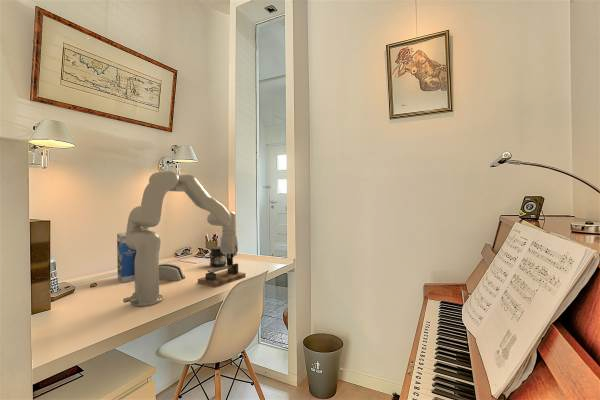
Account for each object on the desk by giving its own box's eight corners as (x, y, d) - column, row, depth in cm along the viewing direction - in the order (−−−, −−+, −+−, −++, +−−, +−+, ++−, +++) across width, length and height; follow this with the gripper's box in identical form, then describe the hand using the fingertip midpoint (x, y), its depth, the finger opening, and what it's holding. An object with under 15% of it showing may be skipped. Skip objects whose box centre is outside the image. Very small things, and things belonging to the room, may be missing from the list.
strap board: (215, 287, 150) (215, 272, 150) (197, 282, 158) (197, 268, 158) (245, 276, 169) (245, 263, 169) (228, 273, 176) (228, 260, 176)
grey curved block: (186, 277, 167) (182, 262, 164) (181, 283, 163) (177, 267, 159) (160, 276, 171) (156, 261, 167) (155, 281, 166) (150, 266, 163)
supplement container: (213, 263, 201) (212, 246, 201) (228, 263, 201) (228, 246, 200) (207, 267, 191) (207, 249, 190) (223, 267, 190) (223, 249, 190)
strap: (212, 273, 155) (212, 270, 155) (207, 272, 157) (207, 269, 157) (235, 267, 169) (235, 264, 169) (230, 266, 171) (230, 263, 171)
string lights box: (117, 278, 167) (116, 233, 167) (132, 275, 172) (131, 232, 172) (122, 283, 157) (121, 235, 157) (137, 280, 162) (137, 234, 162)
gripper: (214, 233, 168) (215, 264, 169) (233, 234, 160) (234, 268, 161) (224, 231, 175) (225, 261, 175) (243, 233, 166) (244, 265, 167)
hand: (229, 264), depth 168 cm, fingers closed
